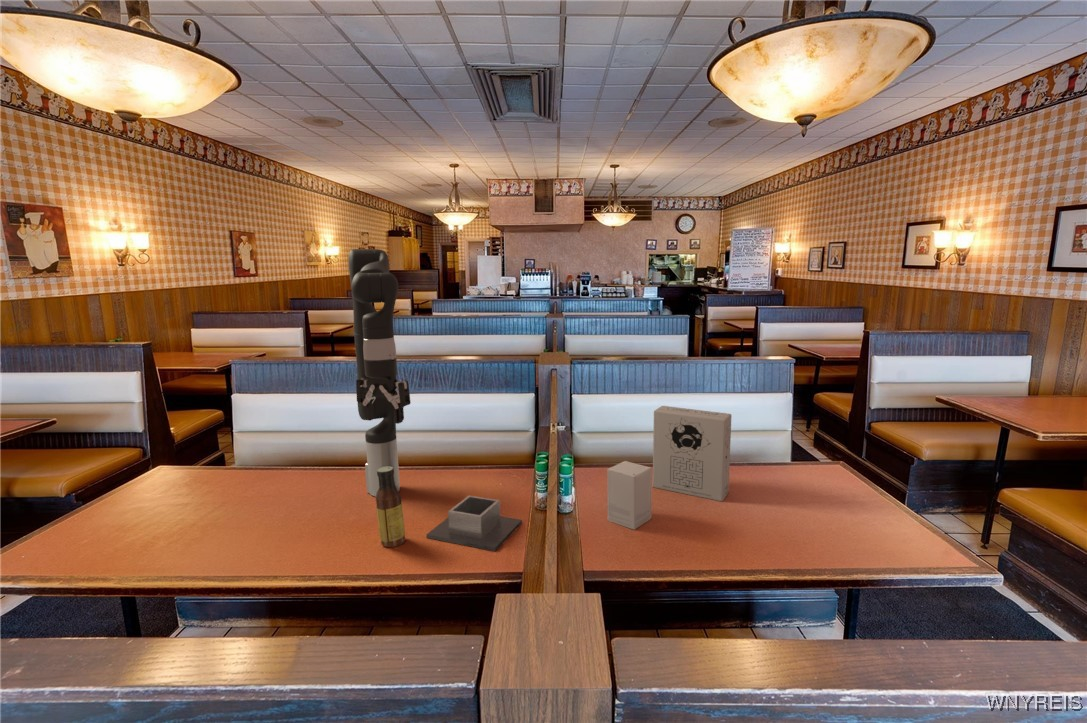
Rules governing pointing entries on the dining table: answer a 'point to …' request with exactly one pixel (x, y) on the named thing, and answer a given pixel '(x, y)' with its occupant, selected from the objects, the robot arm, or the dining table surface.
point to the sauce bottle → (389, 509)
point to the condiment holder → (476, 524)
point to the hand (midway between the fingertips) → (384, 421)
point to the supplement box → (629, 494)
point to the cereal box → (692, 452)
